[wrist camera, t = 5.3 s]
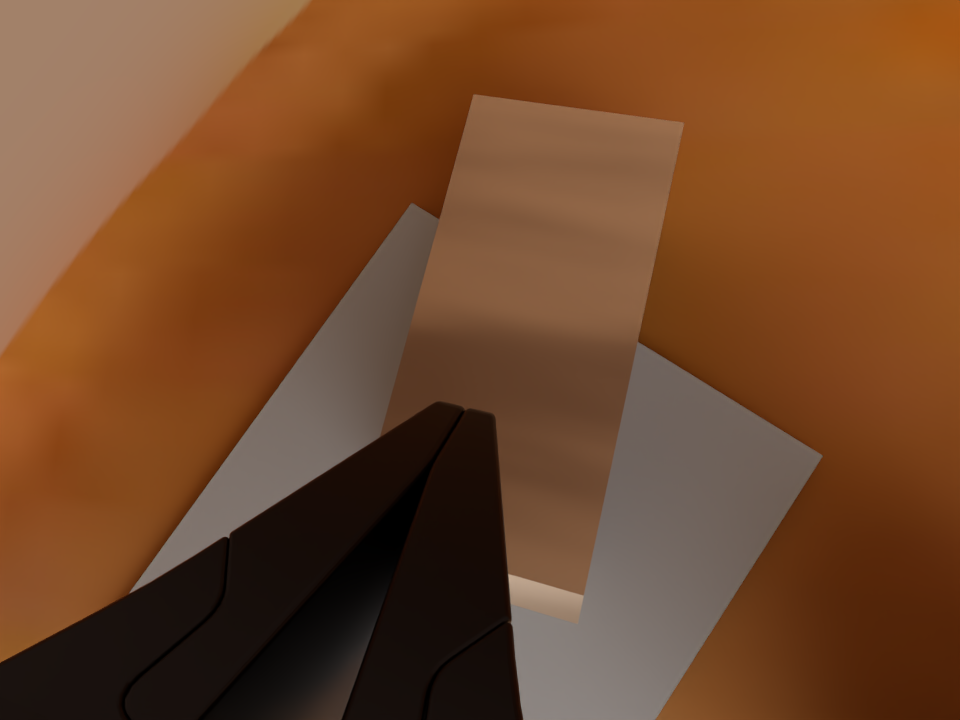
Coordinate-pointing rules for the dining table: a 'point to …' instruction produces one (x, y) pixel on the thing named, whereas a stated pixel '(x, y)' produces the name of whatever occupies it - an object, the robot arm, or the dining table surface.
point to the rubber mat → (624, 518)
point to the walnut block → (542, 316)
